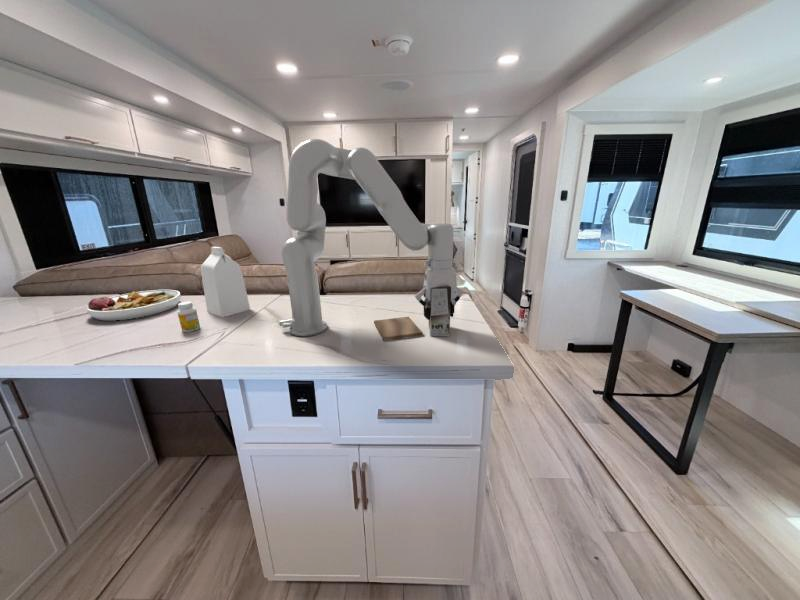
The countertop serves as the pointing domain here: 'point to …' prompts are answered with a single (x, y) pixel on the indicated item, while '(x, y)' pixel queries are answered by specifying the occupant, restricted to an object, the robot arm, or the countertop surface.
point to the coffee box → (440, 311)
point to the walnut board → (397, 328)
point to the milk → (223, 284)
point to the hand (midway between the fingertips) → (438, 316)
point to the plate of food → (133, 304)
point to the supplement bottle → (188, 317)
